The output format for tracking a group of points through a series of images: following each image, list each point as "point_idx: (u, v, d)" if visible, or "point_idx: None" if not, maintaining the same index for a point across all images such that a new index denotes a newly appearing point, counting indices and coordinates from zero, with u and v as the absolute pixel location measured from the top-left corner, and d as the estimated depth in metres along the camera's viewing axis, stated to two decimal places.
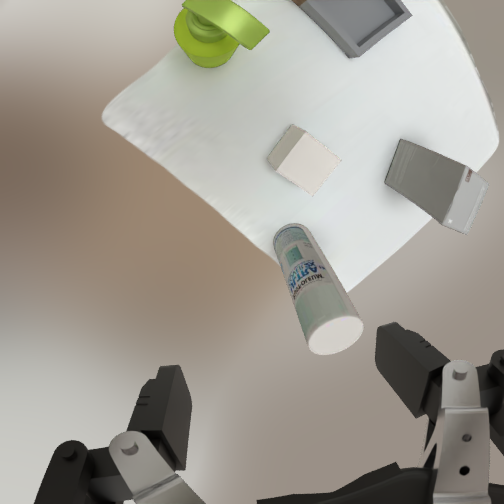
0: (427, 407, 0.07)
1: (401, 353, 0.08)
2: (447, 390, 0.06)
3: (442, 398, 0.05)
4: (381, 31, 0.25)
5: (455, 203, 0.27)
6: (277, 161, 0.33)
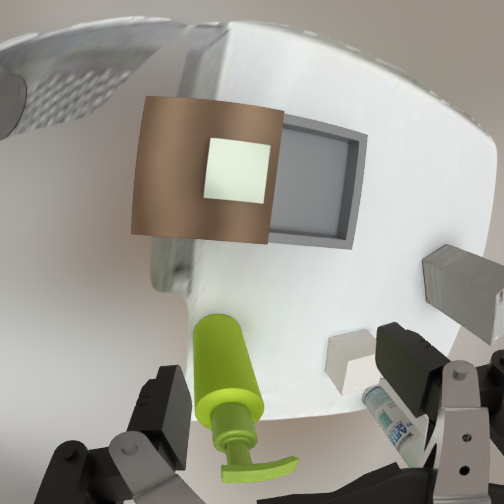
0: (427, 407, 0.07)
1: (401, 353, 0.08)
2: (447, 390, 0.06)
3: (442, 398, 0.05)
4: (354, 196, 0.29)
5: (496, 325, 0.23)
6: (337, 383, 0.34)
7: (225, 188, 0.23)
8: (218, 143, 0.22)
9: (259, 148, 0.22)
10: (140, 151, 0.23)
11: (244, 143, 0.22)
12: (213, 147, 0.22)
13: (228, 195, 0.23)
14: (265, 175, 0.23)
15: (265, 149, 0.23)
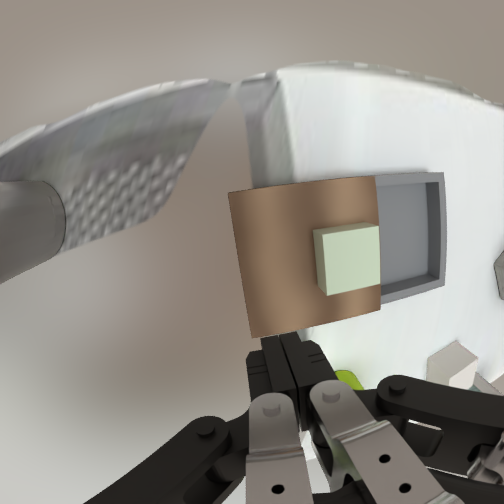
0: (307, 422, 0.08)
1: (288, 364, 0.09)
2: (327, 417, 0.06)
3: (326, 427, 0.06)
4: (441, 237, 0.26)
5: None
6: None
7: (346, 280, 0.22)
8: (331, 238, 0.21)
9: (370, 231, 0.21)
10: (241, 257, 0.23)
11: (355, 231, 0.21)
12: (327, 243, 0.21)
13: (349, 286, 0.22)
14: (378, 257, 0.22)
15: (374, 231, 0.21)
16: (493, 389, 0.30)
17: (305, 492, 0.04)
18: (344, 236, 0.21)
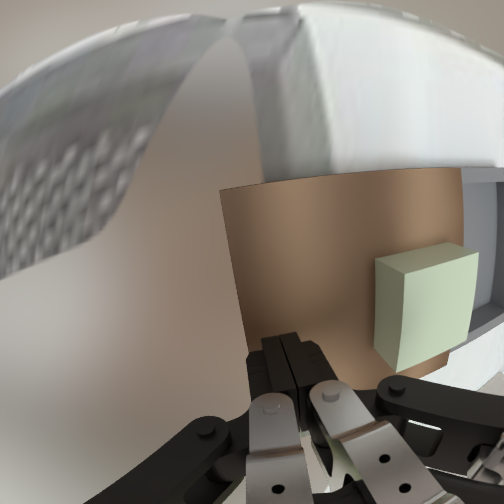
0: (307, 422, 0.08)
1: (288, 364, 0.09)
2: (327, 417, 0.06)
3: (326, 427, 0.06)
4: None
5: None
6: None
7: (426, 345, 0.11)
8: (417, 280, 0.10)
9: (468, 262, 0.10)
10: (247, 313, 0.12)
11: (451, 264, 0.10)
12: (410, 289, 0.10)
13: (429, 353, 0.11)
14: (472, 302, 0.11)
15: (473, 261, 0.10)
16: None
17: (305, 492, 0.04)
18: (436, 274, 0.10)
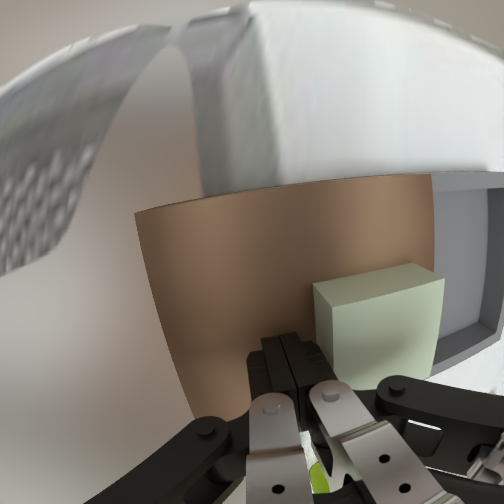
0: (307, 422, 0.08)
1: (288, 364, 0.09)
2: (327, 417, 0.06)
3: (326, 427, 0.06)
4: None
5: None
6: None
7: (372, 384, 0.10)
8: (351, 314, 0.09)
9: (428, 291, 0.09)
10: (170, 335, 0.12)
11: (402, 294, 0.09)
12: (342, 325, 0.09)
13: None
14: (436, 335, 0.10)
15: (437, 289, 0.09)
16: None
17: (305, 492, 0.04)
18: (379, 306, 0.09)
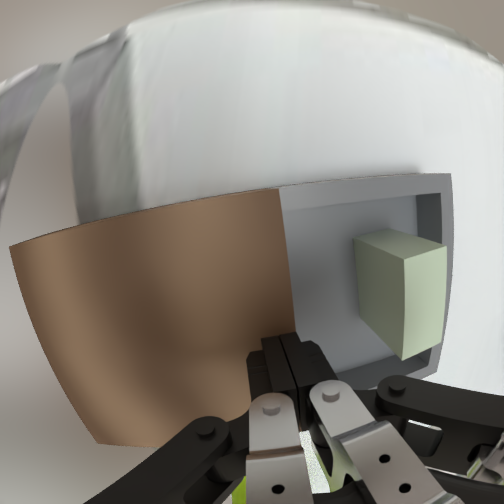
0: (307, 422, 0.08)
1: (288, 364, 0.09)
2: (327, 417, 0.06)
3: (326, 427, 0.06)
4: None
5: None
6: None
7: None
8: None
9: None
10: (44, 345, 0.11)
11: None
12: (441, 260, 0.11)
13: None
14: None
15: None
16: None
17: (305, 492, 0.04)
18: None
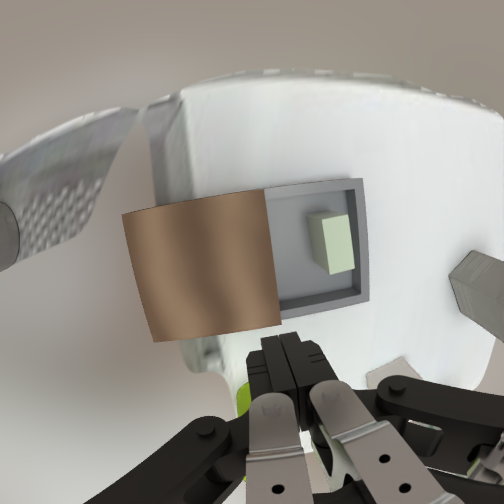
0: (307, 422, 0.08)
1: (288, 364, 0.09)
2: (327, 417, 0.06)
3: (326, 427, 0.06)
4: (361, 249, 0.27)
5: None
6: None
7: None
8: None
9: None
10: (136, 270, 0.25)
11: (336, 213, 0.26)
12: (347, 222, 0.24)
13: None
14: None
15: None
16: None
17: (305, 492, 0.04)
18: None
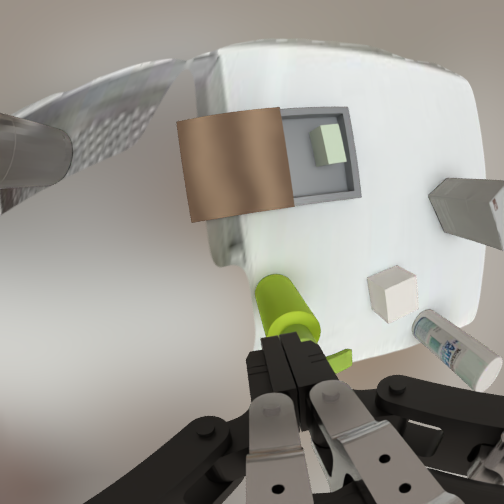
0: (307, 422, 0.08)
1: (288, 364, 0.09)
2: (327, 417, 0.06)
3: (326, 427, 0.06)
4: (351, 156, 0.35)
5: (501, 230, 0.27)
6: (383, 314, 0.40)
7: None
8: None
9: None
10: (184, 161, 0.33)
11: None
12: (338, 129, 0.32)
13: None
14: None
15: None
16: (448, 322, 0.39)
17: (305, 492, 0.04)
18: None
